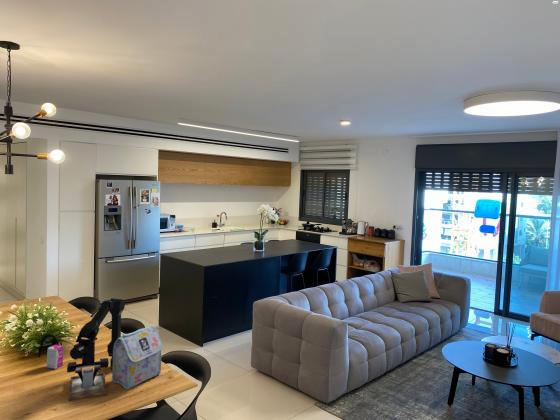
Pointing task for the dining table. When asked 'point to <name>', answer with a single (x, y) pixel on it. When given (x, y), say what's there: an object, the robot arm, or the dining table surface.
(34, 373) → the dining table surface
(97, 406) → the dining table surface
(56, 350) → the supplement box
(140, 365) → the lunch bag
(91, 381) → the peg
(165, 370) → the dining table surface
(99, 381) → the shallow tray
